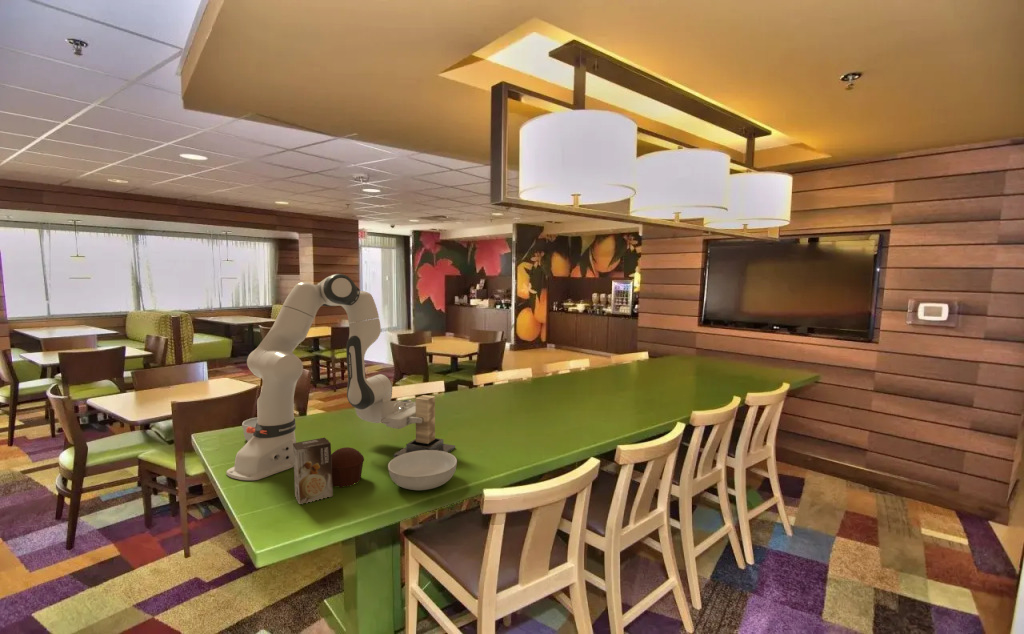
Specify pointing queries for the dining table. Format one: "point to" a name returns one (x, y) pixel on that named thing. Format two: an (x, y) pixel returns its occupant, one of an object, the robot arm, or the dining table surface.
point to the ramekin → (249, 423)
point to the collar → (425, 447)
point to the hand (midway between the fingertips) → (427, 417)
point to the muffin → (346, 466)
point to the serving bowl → (422, 469)
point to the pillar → (425, 419)
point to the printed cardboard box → (312, 470)
